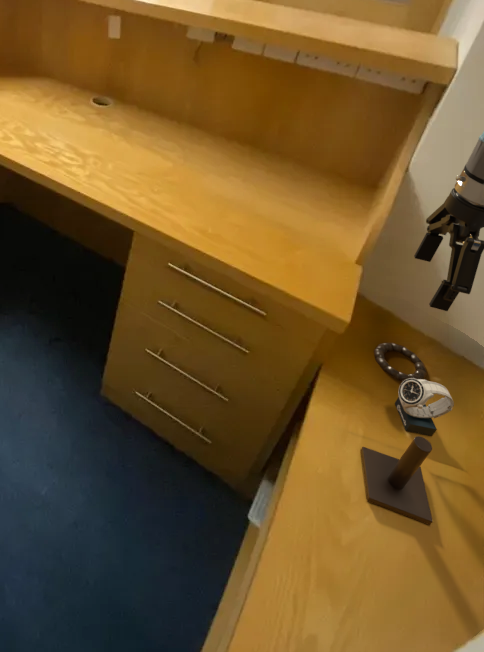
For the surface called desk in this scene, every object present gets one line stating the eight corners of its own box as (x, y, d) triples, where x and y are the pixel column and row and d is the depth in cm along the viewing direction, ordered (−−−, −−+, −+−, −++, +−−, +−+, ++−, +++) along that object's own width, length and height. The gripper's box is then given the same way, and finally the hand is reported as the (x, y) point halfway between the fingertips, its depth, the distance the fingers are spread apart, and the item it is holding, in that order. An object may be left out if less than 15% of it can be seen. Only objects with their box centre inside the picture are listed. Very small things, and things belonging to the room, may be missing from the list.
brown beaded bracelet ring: (418, 355, 109) (422, 349, 108) (428, 392, 102) (432, 386, 101) (370, 340, 112) (372, 335, 111) (376, 376, 105) (379, 370, 104)
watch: (382, 403, 100) (402, 369, 94) (427, 412, 98) (451, 377, 93) (392, 431, 95) (415, 397, 89) (440, 441, 94) (466, 406, 88)
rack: (418, 470, 89) (449, 428, 83) (430, 525, 82) (465, 484, 75) (360, 449, 92) (386, 407, 86) (367, 501, 85) (395, 459, 78)
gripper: (436, 156, 100) (396, 236, 111) (474, 235, 80) (421, 324, 91) (482, 164, 97) (436, 246, 108) (533, 248, 78) (471, 338, 89)
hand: (429, 282), depth 100 cm, fingers open, 13 cm apart
